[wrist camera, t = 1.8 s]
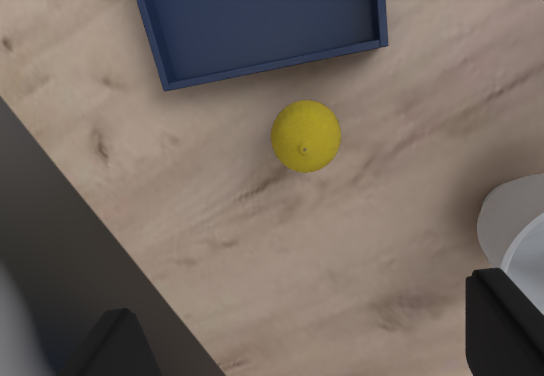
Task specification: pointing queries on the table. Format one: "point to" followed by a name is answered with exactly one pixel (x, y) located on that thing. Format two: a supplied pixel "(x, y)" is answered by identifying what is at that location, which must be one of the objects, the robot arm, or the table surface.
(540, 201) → the teacup
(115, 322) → the robot arm
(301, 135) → the lemon
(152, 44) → the tray
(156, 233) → the table surface
